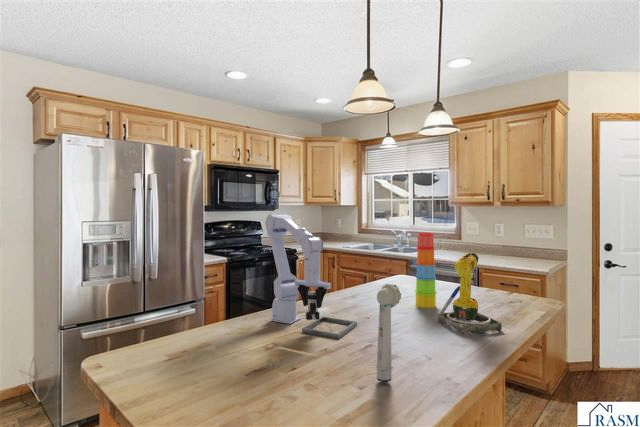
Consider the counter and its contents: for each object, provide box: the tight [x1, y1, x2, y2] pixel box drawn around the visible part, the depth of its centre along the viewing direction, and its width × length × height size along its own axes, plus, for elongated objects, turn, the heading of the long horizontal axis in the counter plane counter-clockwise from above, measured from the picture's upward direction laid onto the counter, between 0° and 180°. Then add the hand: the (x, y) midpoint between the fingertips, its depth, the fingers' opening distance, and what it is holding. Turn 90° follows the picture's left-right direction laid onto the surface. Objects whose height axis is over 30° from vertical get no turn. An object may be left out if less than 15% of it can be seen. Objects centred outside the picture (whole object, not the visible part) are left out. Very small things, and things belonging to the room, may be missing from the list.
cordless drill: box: [437, 252, 503, 335], centre depth 140 cm, size 18×19×28 cm
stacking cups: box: [414, 232, 438, 309], centre depth 167 cm, size 10×10×35 cm
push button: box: [301, 290, 320, 321], centre depth 133 cm, size 7×5×10 cm
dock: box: [301, 316, 358, 340], centre depth 137 cm, size 15×17×2 cm
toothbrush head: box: [375, 283, 402, 383], centre depth 96 cm, size 5×7×25 cm
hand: (312, 306), depth 133 cm, fingers closed on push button, 5 cm apart
